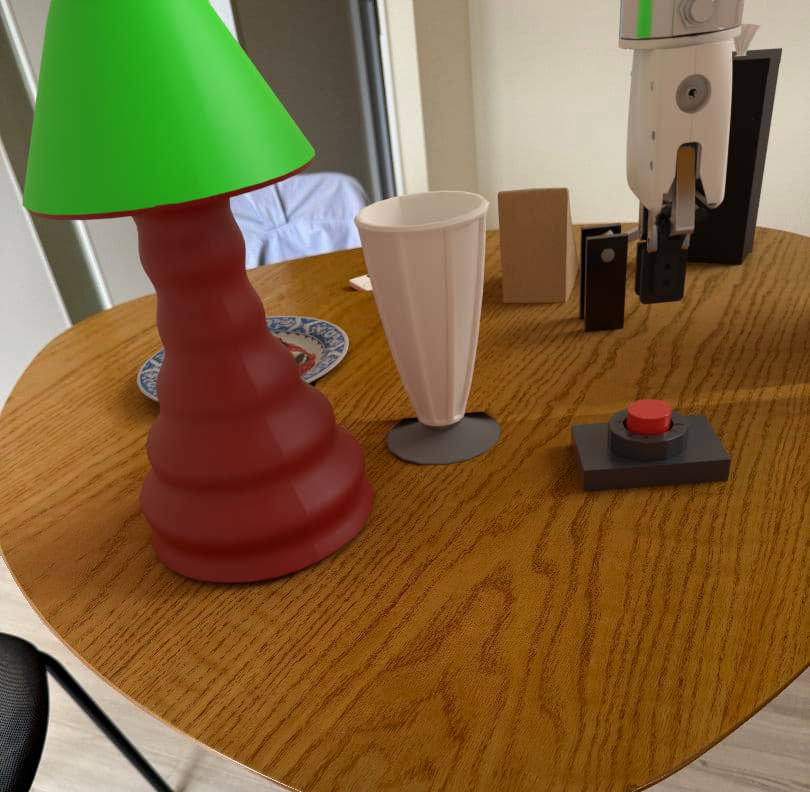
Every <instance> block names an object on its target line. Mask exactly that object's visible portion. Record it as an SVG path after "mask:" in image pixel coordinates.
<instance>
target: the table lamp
mask: <svg viewBox="0 0 810 792" xmlns="http://www.w3.org/2000/svg"><path fill="white" fill-rule="evenodd" d="M49 2H50V3H49V6H48V12H47V17H46V21H45V27H44V28H45V29H44V36H43V44H42V52H41V58H40V65H39V66H40V67H39V73H38V82H37V88H36V89H37V90H36V97H35V105H34V112H33V119H32V126H31V134H30V143H29V150H28V156H27V157H28V158H27V165H26V171H25V172H26V173H25V181H24V189H23V196H22V207H24V208H25V210H26V211H27V212H28V213H29V214H30V215H32V216H35V217H38V218H41V219H46V220H56V221H88V220H89V221H94V220H95V221H96V220H110V219H119V218H127V217H131V218H132V219H133V222H134V224H135V226H136V231H137V247H138V249H137V250H138V256H139V260H140V264H141V266H142V268H143V271H144V273H145V274H146V276H147V277H148V279H149V281H150V283H151V284H152V286H153V288H154V290H155V293H156V300H157V301H156V312H155V314H156V317H155V318H156V320H155V321H156V326H157V332H158V335H159V338H160V339H161V343H162V345H163V348H164V351H165V356H164V360H163V363H162V365H161V368H160V371H159V373H158V377H157V381H156V393H157V398H158V401H159V402H158V405H159V407H160V408H159V409H160V410H159V414H158V415H157V417H156V419H155V420H154V422H153V424H152V425H151V426H150V428H149V431H148V434H147V439H146V441H145V448H146V457H147V460H148V462H149V464H150V466H151V467H150V469H149V471H148V473H147V475H146V476H145V478H144V479H143V482H142V486H141V491H140V494H139V505H140V506H139V507H140V511H141V513H142V516H143V517H144V519H145V521H146V522H147V524H148V526H149V527H150V528H151V530H150V540H151V542H150V543H151V548H152V550H153V551H154V553H155V555H156V556H157V558H158V560H159V561H160V562H161V563H163V564H164V565H165V566H166V567H167V568H168V569H169V570H171V571H174V572H176V573H178V574H180V575H182V576H183V577H186V578H188V579H192V580H196V581H202V582H206V583H220V584H221V583H222V584H239V583H256V582H263V581H267V580H274V579H278V578H282V577H284V576H288V575H290V574H294V573H296V572H299V571H302V570H303V569H306V568H308V567H310V566H313V565H315V564H317V563H319V562H321V561H322V560H324V559H326V558H328V557H330V556H331V555H333V554H334V553H336V552H338V551H339V550H341V549H342V548H343V547H344V546H346V545H347V544H349V543H350V542H351V541H352V540H354V539H355V537H356V536H357V535H358V533H359V532H360V531H361V529H362V528H363V527H364V525H366V523H367V521H368V519H369V518H370V515H371V513H372V511H373V506H374V502H375V501H374V500H375V494H374V489H373V485H372V484H371V482H370V480H369V478H368V477H367V475H366V474H365V470H366V458H365V453H364V449H363V447H362V445H361V444H360V442H359V440H358V439H357V438H356V436H355V435H353V434H352V432H350V431H349V430H348V429H346V428H345V427H344V426H342V425H340V424H339V423H337V422H336V417H335V411H334V407H333V404H332V403H331V402H330V400H329V399H328V397H327V396H326V395H325V394H324V393H323V392H322V391H320V389H318V388H317V387H315V386H313V385H312V384H311V383H307V382H305V381H304V380H302V379H301V378H300V374H299V370H298V366H297V363H296V360H295V358H294V356H293V354H292V353H291V352H290V350H289V349H288V348H287V347H286V346H285V345H284V344H283V343H282V342H280V341H279V340H278V339H277V338H276V337H275V336H274V335H273V334H272V333H271V332H270V331H269V328H268V326H267V322H266V317H267V315H266V311H265V307H264V303H263V301H262V299H261V298H260V295H259V294H258V292H257V291H256V289H255V287H254V286H253V284H252V283H251V282H250V279H249V277H248V274H247V268H246V258H247V257H246V256H247V252H246V251H247V248H246V240H245V237H244V235H243V234H244V233H243V232H242V230H241V228H240V226H239V223H238V222H237V220H236V218H235V217H234V214H233V211H232V208H231V198H234V197H238V196H241V195H242V196H243V195H244V194H248V193H251V192H256V191H259V190H262V189H265V188H268V187H271V186H273V185H277V184H279V183H281V182H284V181H286V180H288V179H290V178H292V177H295V176H297V175H299V174H300V173H302V172H303V171H305V170H306V169H308V168H309V167H310V166H311V165H312V164H313V162H314V161H315V157H316V150H315V148H314V147H313V146H312V144H311V143H310V142H309V140H308V139H307V137H306V136H305V134H304V133H303V131H302V130H301V129H300V127H299V126H298V125H297V124H296V122H295V121H294V119H293V117H292V116H291V115H290V113H289V112H288V110H287V109H286V107H284V105H283V103H282V102H281V101H280V100H279V97H277V96H276V94H275V92H274V91H273V90H272V88H271V87H270V85H269V84H268V82H266V80H265V78H264V77H263V76H262V74H261V73H260V72H259V70H258V69H257V67H256V66H255V64H254V63H253V62H252V60H251V59H250V57H249V56H248V54H247V53H246V52H245V50H244V49H243V48H242V46H241V45H240V44H239V42H238V41H237V39H236V38H235V36H234V35H233V34H232V32H231V31H230V29H229V28H228V27H227V25H226V23H225V22H224V21H223V20H222V18H221V16H220V15H219V14H218V13H217V11H216V10H215V8H214V7H213V6H212V4H211V3H210V1H209V0H50V1H49Z"/></svg>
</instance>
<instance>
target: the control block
mask: <svg viewBox="0 0 810 792" xmlns="http://www.w3.org/2000/svg"><path fill="white" fill-rule="evenodd" d="M627 408H628V407H626V408H624V409H621V410H618V411H616V412H615V413H614V414H613V415H612V416H611V418H610V419H609V420H608V421H607V422H594V423H583V424H572V425H570V448H571V450H572V455H573V459H574V462H575V466H576V469H577V473H578V477H579V481H580V484H581V488H582V491H583V492H584V493H588V492H600V491H601V492H602V491H614V490H625V489H626V490H627V489H640V488H653V487H666V486H677V485H692V484H704V483H705V484H706V483H717V482H719V483H720V482H728V481H729V476H730V468H731V462H732V458H731V457H730V455H729V453H728V451H727V450H726V448H725V446H724V445H723V443H722V441H721V439H720V438H719V436H718V434H717V432H716V431H715V429H714V427H713V426H712V424H711V422H710V420H709V419H708V417H707V415H706V414H705V413H701V414H691V415H685V414H683V413H681V412H679V411H677V410H674V409H673V408H671V421H670V429H669V430H668V431H667V432H665V433H662V434H660V435H648V436H647V435H641V434H635V433H633V432H631V431H629V430H628V429H627V427H626V423H627Z"/></svg>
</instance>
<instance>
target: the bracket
mask: <svg viewBox="0 0 810 792" xmlns="http://www.w3.org/2000/svg"><path fill="white" fill-rule="evenodd" d="M609 230H611V231H612V232H613V234H611V235H602V236H597V235H600V234H602V233H604V232H606V231H609ZM579 234H580V235H579V236H580V238H579V239H580V240H579V244H580V245H579V294H578V295H579V297H578V298H579V299H578V300H579V301H578V318H579V320H583V331H584V333H592V332H601V331H603V332H604V331H613V330H623V329H625V328H624V327H625V311H626V310H625V307H626V288H627V273H628V251H629V243H628V234H627V233H624V232H622V224H621V223H620V222H616V223H607V224H597V225H589V226H580V233H579Z"/></svg>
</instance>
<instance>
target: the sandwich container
mask: <svg viewBox="0 0 810 792" xmlns="http://www.w3.org/2000/svg"><path fill="white" fill-rule="evenodd" d="M570 201H571V200H570V191H569V188H568V187H536V188H523V189H512V190H502V191H501V190H500V191H498V193H497V212H498V213H497V215H498V229H499V249H500V267H501V285H502V287H501V288H502V302H503V304H527V303H528V304H529V303H530V304H531V303H532V304H535V303H536V304H537V303H538V304H539V303H540V304H541V303H542V304H543V303H544V304H545V303H546V304H547V303H549V304H551V303H556V304H557V303H567V302H568V300H569V298H570V296H571V294H572V292H573V289H574V285H575V282H576V278H577V275H578V273H579V272H578V271H579V270H580V263H579V260H578V259H579V258H578V253H577V246H576V240H575V239H576V238H575V233H574V226H573V220H572V213H571V212H572V211H571V202H570Z"/></svg>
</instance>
